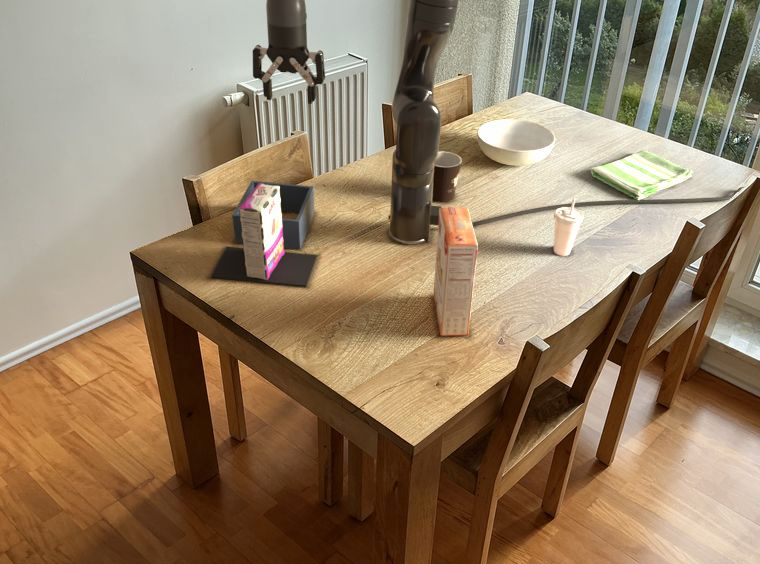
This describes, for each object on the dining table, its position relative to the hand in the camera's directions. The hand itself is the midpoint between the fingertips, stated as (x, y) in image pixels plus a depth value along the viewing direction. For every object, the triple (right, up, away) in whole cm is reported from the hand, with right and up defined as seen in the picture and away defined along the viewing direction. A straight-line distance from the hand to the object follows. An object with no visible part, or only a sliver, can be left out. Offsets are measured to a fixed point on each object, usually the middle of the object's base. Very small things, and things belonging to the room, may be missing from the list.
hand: (290, 100), depth 165 cm
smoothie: (+59, -29, +18) cm, 68 cm away
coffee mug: (+33, -13, +36) cm, 50 cm away
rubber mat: (-6, -34, +6) cm, 35 cm away
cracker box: (+33, -45, -4) cm, 55 cm away
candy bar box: (-6, -34, +6) cm, 35 cm away
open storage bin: (-6, -23, +19) cm, 30 cm away
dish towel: (+86, -5, +50) cm, 99 cm away
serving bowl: (+52, +1, +55) cm, 76 cm away
